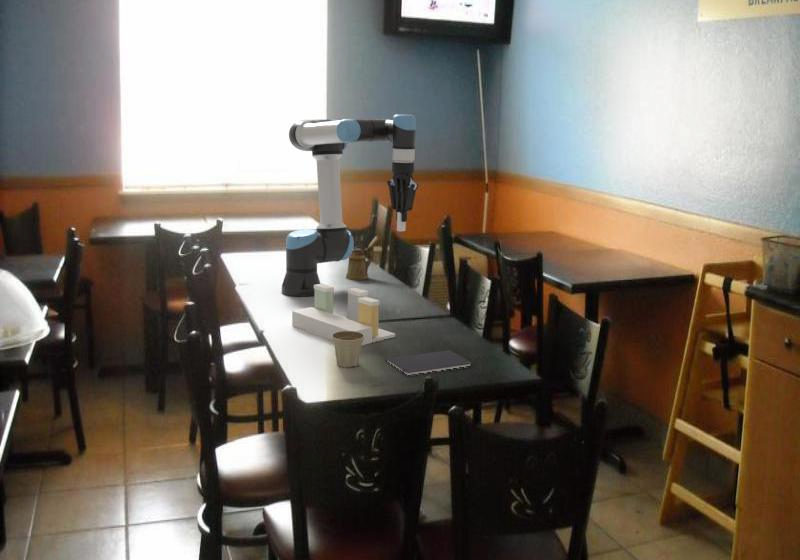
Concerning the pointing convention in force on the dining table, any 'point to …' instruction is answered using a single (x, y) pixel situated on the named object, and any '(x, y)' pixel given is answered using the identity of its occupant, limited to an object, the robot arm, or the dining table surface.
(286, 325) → the dining table surface
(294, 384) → the dining table surface
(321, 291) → the pale green tall block
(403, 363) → the notebook
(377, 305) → the yellow tall block
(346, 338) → the flower pot
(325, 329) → the keypad base
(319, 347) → the dining table surface
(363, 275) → the wooden mug
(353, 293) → the grey tall block
